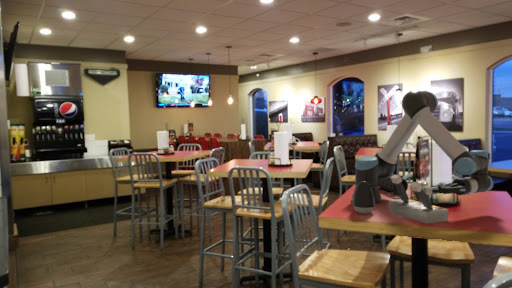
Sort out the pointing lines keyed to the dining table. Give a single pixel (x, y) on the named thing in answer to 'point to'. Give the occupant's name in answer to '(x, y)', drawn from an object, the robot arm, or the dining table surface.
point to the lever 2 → (421, 194)
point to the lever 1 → (400, 187)
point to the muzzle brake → (391, 184)
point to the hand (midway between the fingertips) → (425, 191)
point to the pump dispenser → (364, 198)
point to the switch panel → (418, 211)
